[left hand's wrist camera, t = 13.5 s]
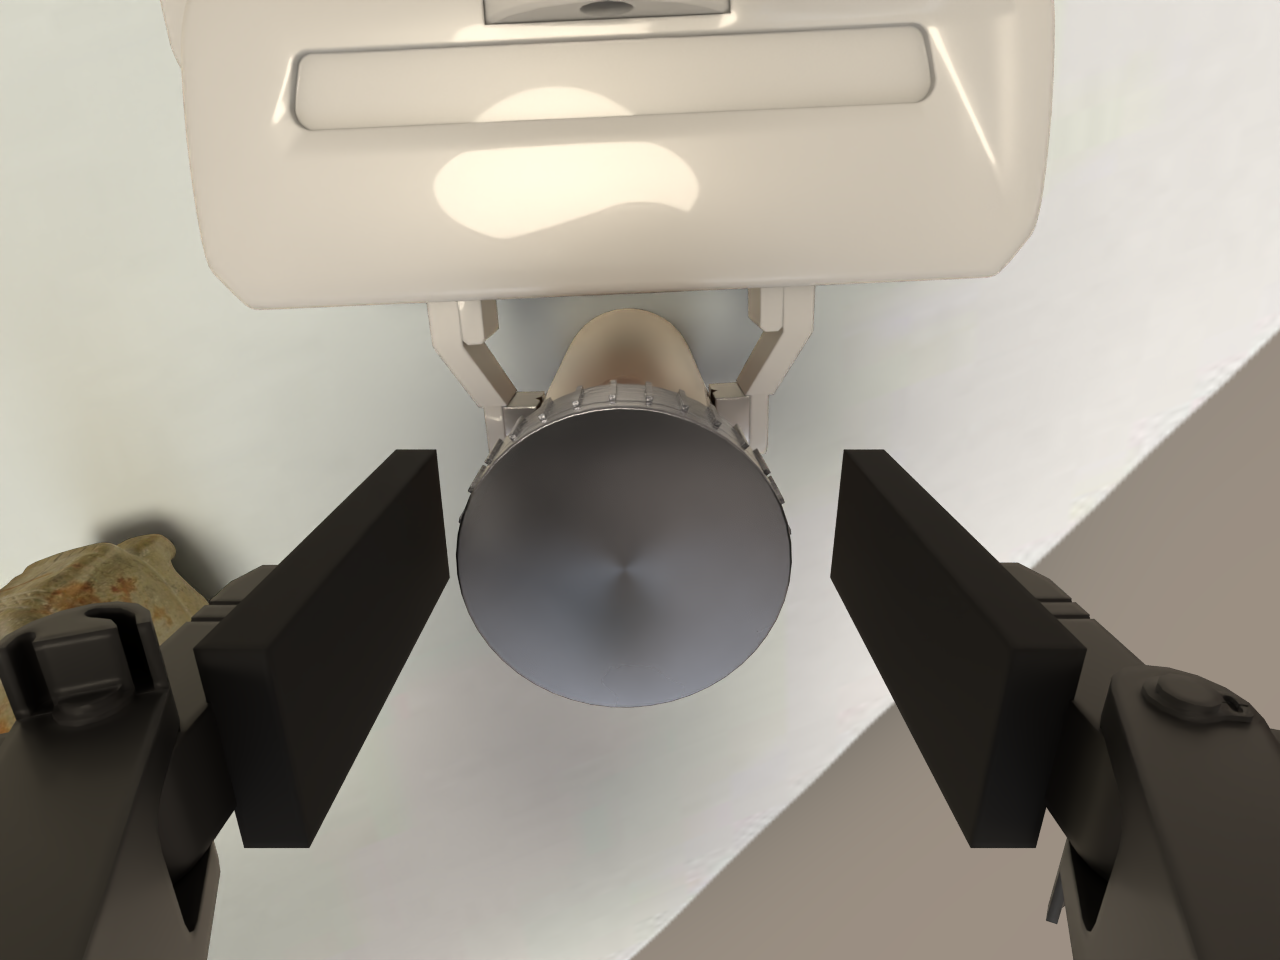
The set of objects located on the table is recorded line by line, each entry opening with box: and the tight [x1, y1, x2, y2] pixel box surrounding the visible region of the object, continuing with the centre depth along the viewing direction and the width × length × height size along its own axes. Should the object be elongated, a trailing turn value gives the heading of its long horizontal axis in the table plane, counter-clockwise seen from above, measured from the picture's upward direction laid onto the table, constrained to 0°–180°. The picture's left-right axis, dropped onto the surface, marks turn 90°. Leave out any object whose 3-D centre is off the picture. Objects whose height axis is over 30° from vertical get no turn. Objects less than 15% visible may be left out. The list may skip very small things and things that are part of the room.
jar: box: [540, 308, 713, 407], centre depth 20 cm, size 5×5×15 cm
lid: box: [456, 380, 792, 707], centre depth 13 cm, size 6×6×2 cm
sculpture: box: [0, 534, 209, 734], centre depth 23 cm, size 6×7×15 cm
